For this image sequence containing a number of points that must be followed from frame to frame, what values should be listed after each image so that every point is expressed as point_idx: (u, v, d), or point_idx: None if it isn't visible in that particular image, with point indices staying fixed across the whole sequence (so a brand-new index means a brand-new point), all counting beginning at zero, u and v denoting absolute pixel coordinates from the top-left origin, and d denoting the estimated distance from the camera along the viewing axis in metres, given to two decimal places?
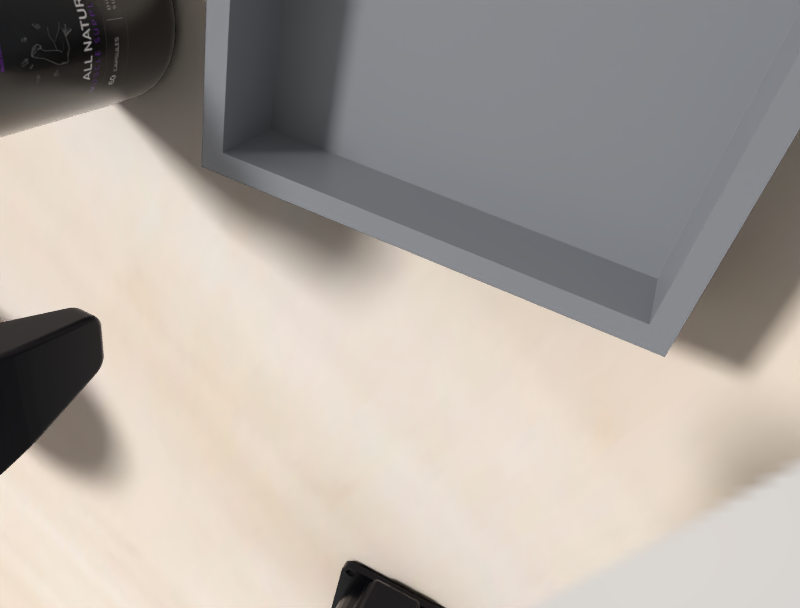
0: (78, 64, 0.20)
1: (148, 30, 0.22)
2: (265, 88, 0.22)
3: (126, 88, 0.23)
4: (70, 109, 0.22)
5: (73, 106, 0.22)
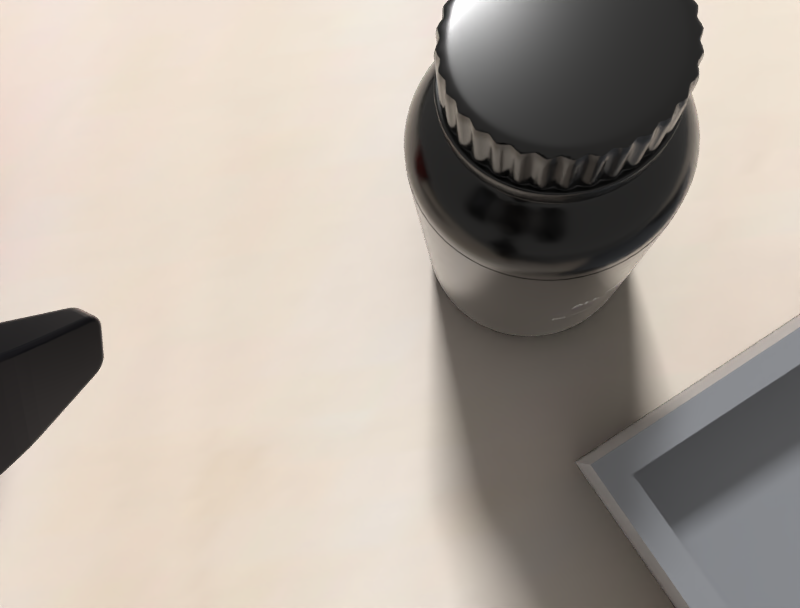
0: (596, 295, 0.18)
1: (597, 308, 0.21)
2: None
3: (534, 327, 0.20)
4: (525, 310, 0.18)
5: (529, 311, 0.18)
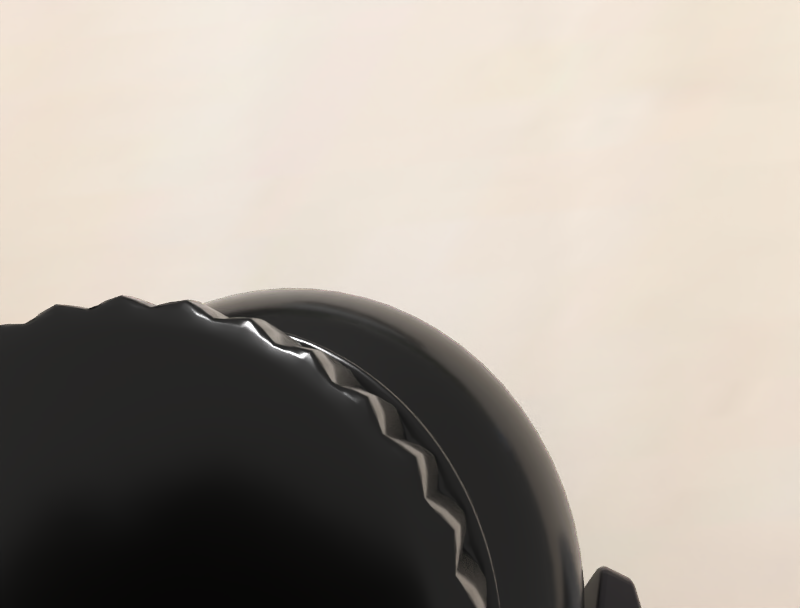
0: None
1: None
2: None
3: None
4: None
5: None
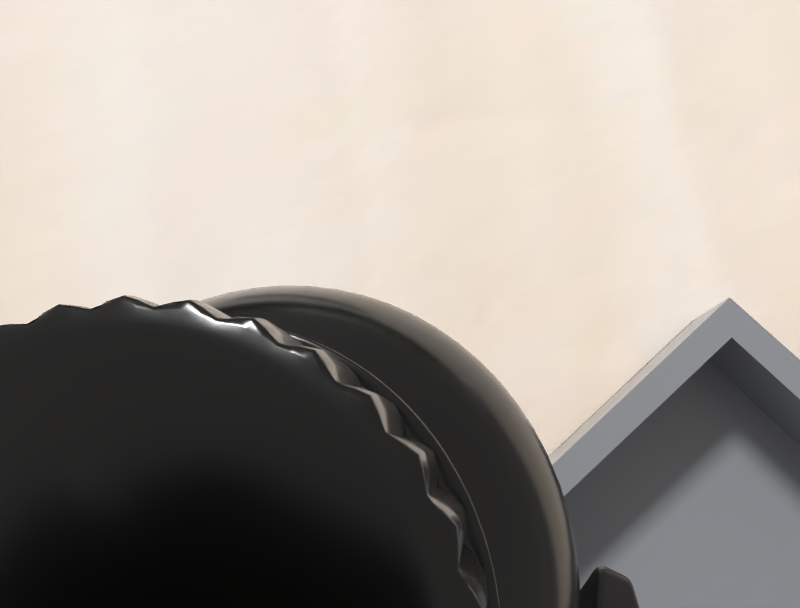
0: None
1: None
2: None
3: None
4: None
5: None
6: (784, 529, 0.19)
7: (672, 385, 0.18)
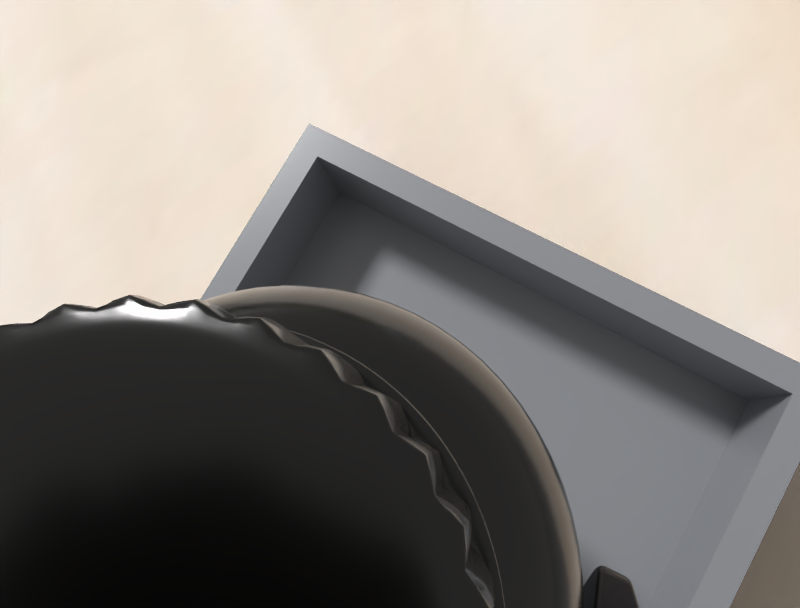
0: None
1: None
2: None
3: None
4: None
5: None
6: (442, 319, 0.21)
7: (277, 213, 0.19)
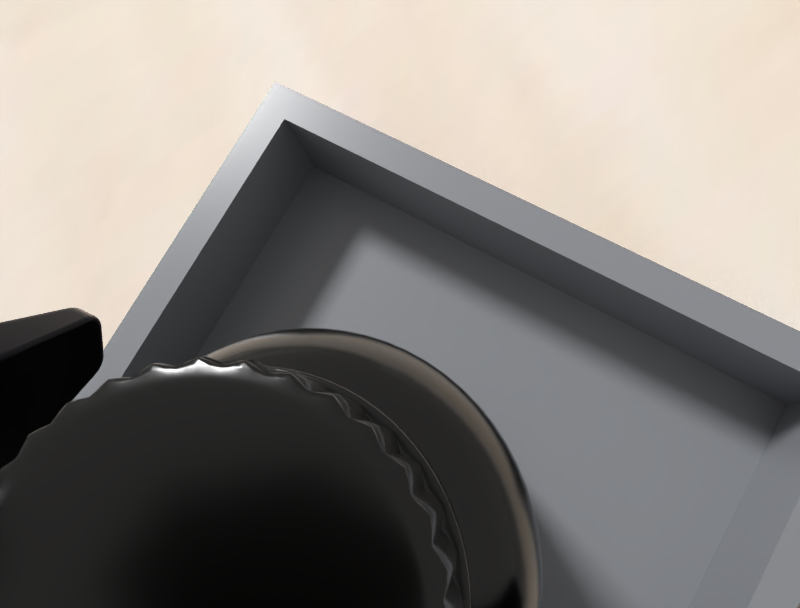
0: None
1: None
2: None
3: None
4: None
5: None
6: (429, 309, 0.18)
7: (236, 185, 0.17)
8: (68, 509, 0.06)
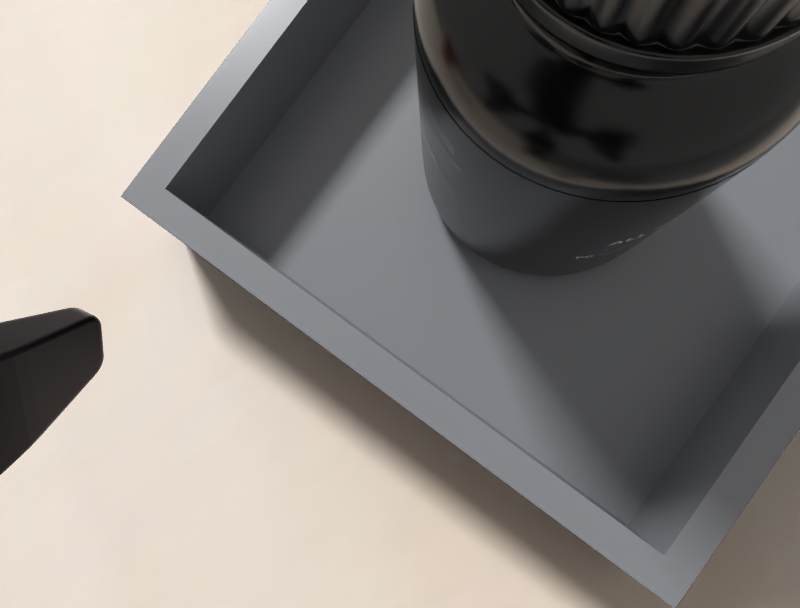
0: (646, 231, 0.13)
1: None
2: (235, 164, 0.18)
3: (547, 264, 0.16)
4: (546, 241, 0.13)
5: (551, 244, 0.14)
6: None
7: None
8: None
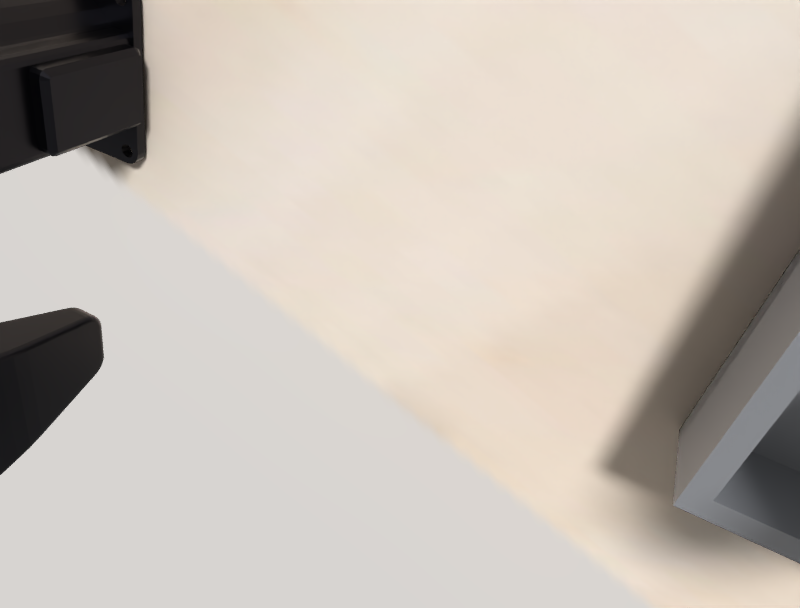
0: None
1: None
2: None
3: None
4: None
5: None
6: None
7: None
8: None
